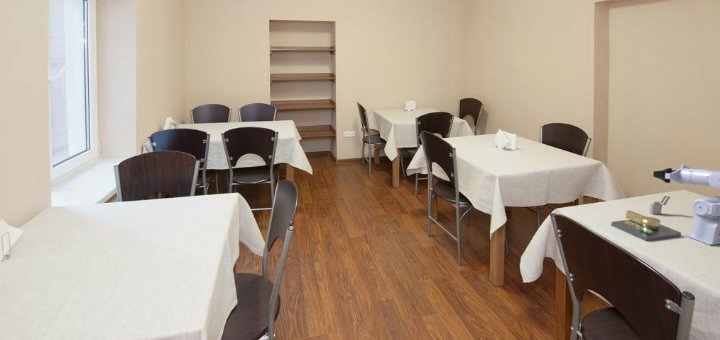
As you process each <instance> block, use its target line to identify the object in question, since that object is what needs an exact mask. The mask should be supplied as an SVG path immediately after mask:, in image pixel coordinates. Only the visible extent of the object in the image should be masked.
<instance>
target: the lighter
mask: <svg viewBox="0 0 720 340" xmlns="http://www.w3.org/2000/svg"><path fill="white" fill-rule="evenodd" d="M670 199H671V196H669V195H667V194H664V196H663V197H662V199H661V200H660V201H653V203H650V208H649V214H650V215H661V214H662V209H663V206H666V205H667V203H669V200H670Z"/></svg>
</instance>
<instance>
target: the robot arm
mask: <svg viewBox="0 0 720 340" xmlns="http://www.w3.org/2000/svg"><path fill="white" fill-rule="evenodd" d="M652 176H653V177H654V178H656V179H660V180H661V181H663V182H664V183H666V184H671V180H672V181H675V182H676V183H679V184H682V185H684V184H685V185H686V184H687V185H694V186H695V185H698V186H705V187H707V186H710V187H712V188H714V189H717V190H718V189H720V170H712V169H711V170H710V169H700V168H699V169H698V168H690V167H688V166H687V165H686V164H681V166H680V168H678V169H674V170H673V168H672V167H670V168H665V169H662V170H654V171H653V174H652ZM691 206H692V210H693V212H694V220H693V227H692V232H691V233H686V234H685V236H686V237H688V238H691V239H693V240H696V241H698V242H701V243H703V244H707V245H709V246H713V245H714V246H715V245H720V196H717V195H716V196H713V197H705V198H696V199H695V200H694V201H693V202H692V205H691Z"/></svg>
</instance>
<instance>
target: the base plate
mask: <svg viewBox="0 0 720 340" xmlns="http://www.w3.org/2000/svg"><path fill="white" fill-rule="evenodd" d="M610 225H611V226H612V227H614V228H617V229H619V230H621V231H623V232H625V233H628V234H629V235H631V236H634V237H637V238H638V239H640V240H643V241H644V242H645V241H646V242H648V241H654V240H656V241H657V240H662V239H669V238H670V239H671V238H678V237H681V235H682V232H681V231H679V230H676V229H673V228H670V227H668V226H665V225H664V224H661V223H660V227H659V229H658V230H650V229H647V228H645V227H641V224H639V223H637V222H635V221H632V220H630V219H624V220H623V219H622V220H618V221H617V220H616V221H615V220H614V221H611V224H610Z"/></svg>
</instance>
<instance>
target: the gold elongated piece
mask: <svg viewBox="0 0 720 340" xmlns="http://www.w3.org/2000/svg"><path fill="white" fill-rule="evenodd" d="M625 213H626V214H625V219H626V220H632V221H635V222H637V223H639V224H641V227H645V228H647V229H650V230H658V229H659V227H660V224H661V220H660V219H659V218H656V217H651V216H645V215H643V214H640V213H637V212H636V211H633V210H626V212H625Z"/></svg>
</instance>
